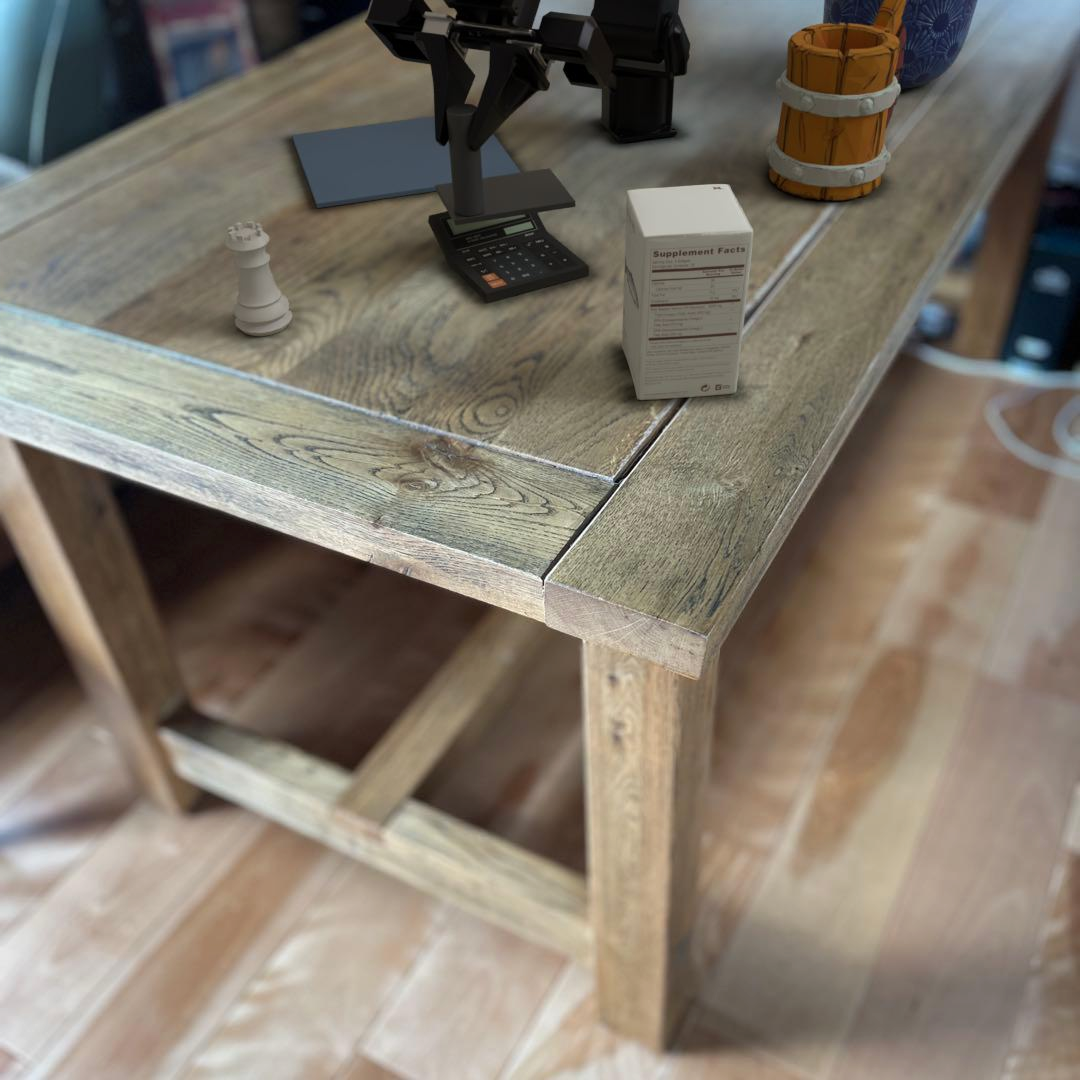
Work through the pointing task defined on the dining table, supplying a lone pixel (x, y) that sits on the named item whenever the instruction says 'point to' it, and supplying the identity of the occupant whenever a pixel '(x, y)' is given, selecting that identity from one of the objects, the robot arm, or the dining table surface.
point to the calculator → (505, 254)
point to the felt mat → (384, 161)
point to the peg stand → (492, 181)
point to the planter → (916, 32)
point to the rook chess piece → (256, 283)
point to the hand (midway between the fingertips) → (455, 146)
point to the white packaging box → (685, 290)
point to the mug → (838, 106)
